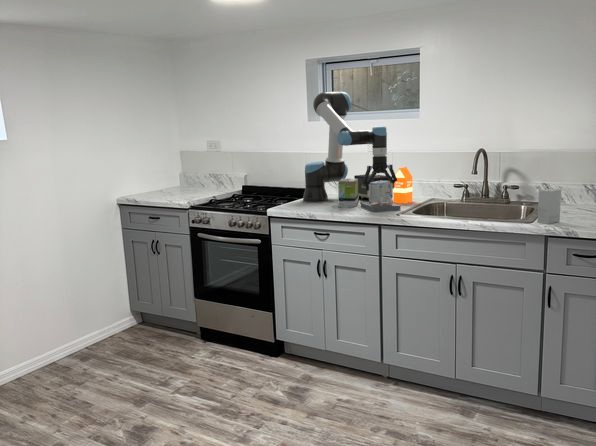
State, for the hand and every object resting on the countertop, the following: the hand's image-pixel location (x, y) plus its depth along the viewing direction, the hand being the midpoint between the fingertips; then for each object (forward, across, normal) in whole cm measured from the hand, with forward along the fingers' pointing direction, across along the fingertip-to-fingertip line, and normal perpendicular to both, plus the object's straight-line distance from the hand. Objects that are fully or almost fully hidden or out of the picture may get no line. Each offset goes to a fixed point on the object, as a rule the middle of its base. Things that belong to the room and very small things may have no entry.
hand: (380, 195), depth 299 cm
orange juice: (+7, +21, +16) cm, 27 cm away
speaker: (+7, +10, +34) cm, 36 cm away
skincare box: (+7, +52, -69) cm, 86 cm away
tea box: (+7, -11, +20) cm, 24 cm away
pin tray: (+7, 0, 0) cm, 7 cm away
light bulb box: (+3, 0, 0) cm, 3 cm away
